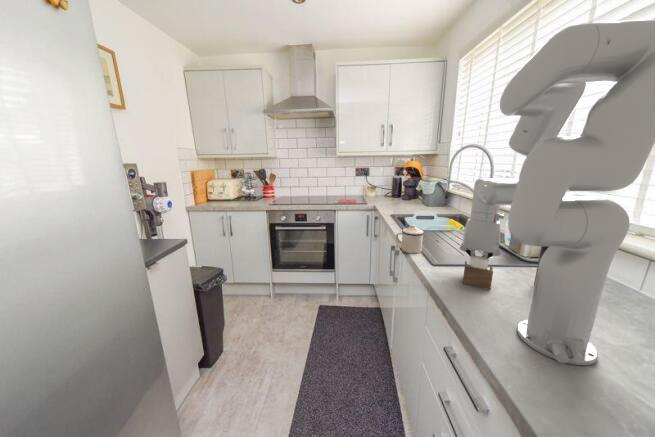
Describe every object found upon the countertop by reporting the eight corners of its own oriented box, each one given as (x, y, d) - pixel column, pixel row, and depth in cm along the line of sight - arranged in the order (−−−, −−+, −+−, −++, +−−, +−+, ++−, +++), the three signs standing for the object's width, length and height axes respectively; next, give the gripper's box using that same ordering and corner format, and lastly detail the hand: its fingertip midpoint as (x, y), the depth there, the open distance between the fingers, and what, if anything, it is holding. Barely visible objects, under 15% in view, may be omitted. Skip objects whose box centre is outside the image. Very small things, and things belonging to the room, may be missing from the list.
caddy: (490, 289, 74) (493, 271, 73) (462, 284, 78) (465, 266, 76) (489, 282, 78) (491, 265, 77) (463, 277, 82) (465, 261, 80)
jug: (485, 286, 76) (489, 263, 74) (467, 283, 78) (470, 260, 76) (484, 276, 82) (487, 254, 80) (467, 273, 85) (470, 252, 83)
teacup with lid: (424, 249, 109) (427, 224, 106) (418, 255, 102) (420, 229, 99) (399, 244, 116) (400, 221, 113) (391, 249, 109) (392, 224, 106)
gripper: (512, 216, 78) (503, 269, 82) (457, 212, 85) (452, 261, 89) (515, 221, 71) (506, 278, 75) (456, 216, 79) (450, 268, 83)
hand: (476, 268), depth 82 cm, fingers closed on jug, 1 cm apart
